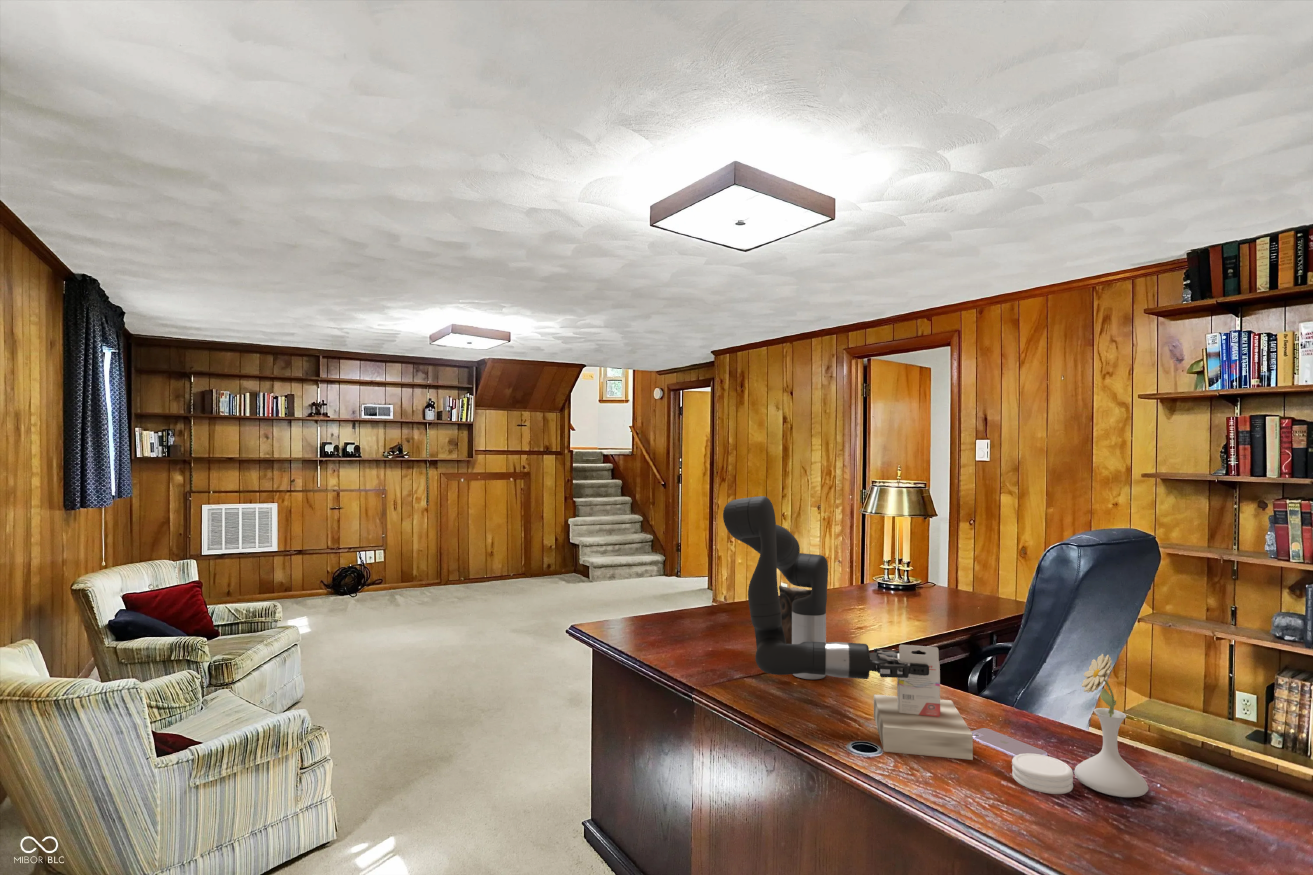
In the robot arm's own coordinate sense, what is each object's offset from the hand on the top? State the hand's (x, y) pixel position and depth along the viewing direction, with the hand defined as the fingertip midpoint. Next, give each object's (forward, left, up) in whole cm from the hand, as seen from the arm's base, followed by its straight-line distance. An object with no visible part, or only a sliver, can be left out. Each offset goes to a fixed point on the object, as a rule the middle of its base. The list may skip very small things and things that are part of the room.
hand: (925, 665), depth 151 cm
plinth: (+1, -1, -15) cm, 15 cm away
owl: (-61, -25, -15) cm, 68 cm away
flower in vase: (+19, +29, -15) cm, 37 cm away
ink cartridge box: (0, -2, -10) cm, 10 cm away
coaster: (+18, +18, -15) cm, 29 cm away
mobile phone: (+1, +16, -16) cm, 22 cm away
